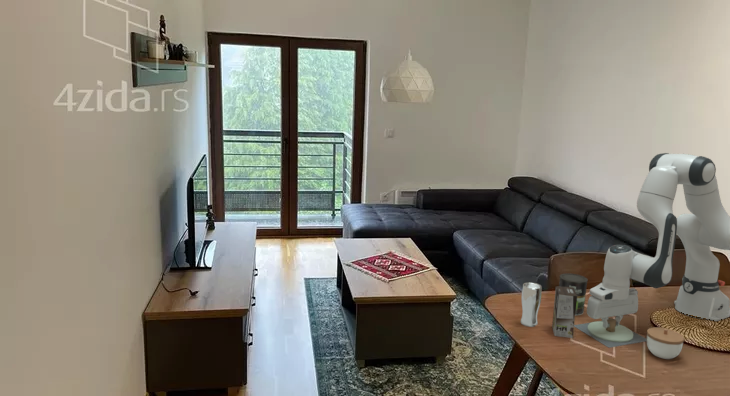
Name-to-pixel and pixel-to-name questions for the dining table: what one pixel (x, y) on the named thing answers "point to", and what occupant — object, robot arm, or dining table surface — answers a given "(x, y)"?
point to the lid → (610, 331)
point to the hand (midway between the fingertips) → (610, 326)
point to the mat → (610, 344)
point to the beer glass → (530, 303)
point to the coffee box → (564, 311)
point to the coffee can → (575, 288)
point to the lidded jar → (664, 342)
